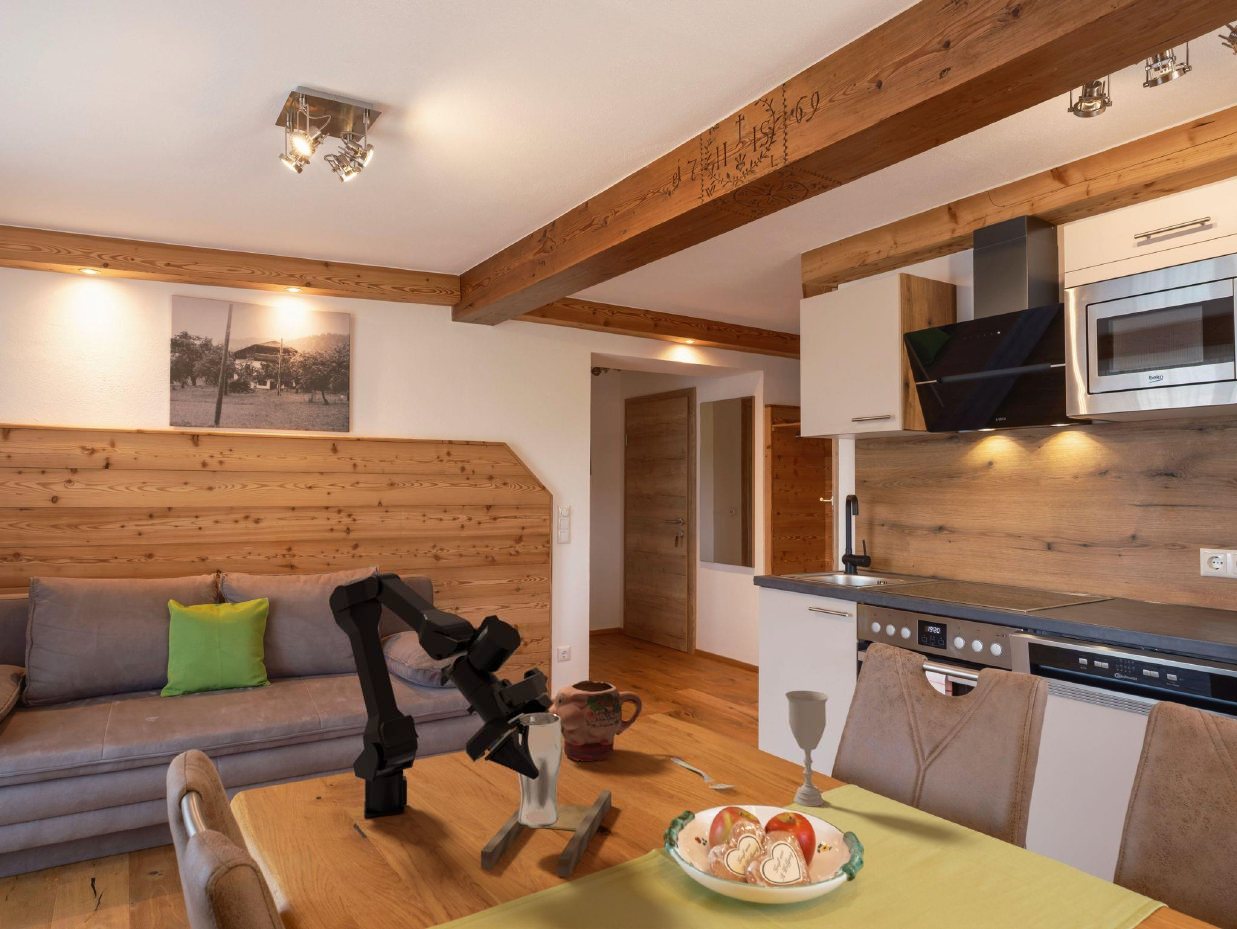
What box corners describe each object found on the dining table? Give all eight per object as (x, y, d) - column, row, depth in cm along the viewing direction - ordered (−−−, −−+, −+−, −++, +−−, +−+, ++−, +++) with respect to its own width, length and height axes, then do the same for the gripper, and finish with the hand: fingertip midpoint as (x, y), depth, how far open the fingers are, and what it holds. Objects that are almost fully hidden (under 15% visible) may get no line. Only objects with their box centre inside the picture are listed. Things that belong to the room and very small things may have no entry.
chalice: (782, 804, 136) (780, 697, 137) (793, 790, 142) (791, 688, 143) (825, 811, 133) (823, 702, 134) (834, 797, 139) (832, 693, 140)
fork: (672, 754, 164) (672, 746, 164) (738, 795, 142) (738, 785, 142) (658, 757, 162) (658, 748, 162) (723, 798, 140) (723, 788, 140)
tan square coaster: (584, 831, 126) (584, 828, 126) (527, 826, 128) (527, 823, 128) (598, 809, 135) (598, 806, 135) (544, 804, 137) (544, 802, 137)
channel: (568, 877, 111) (568, 859, 111) (481, 868, 114) (481, 851, 114) (611, 805, 136) (611, 790, 137) (538, 799, 139) (538, 785, 139)
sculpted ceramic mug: (628, 738, 173) (627, 674, 174) (653, 755, 162) (652, 686, 162) (540, 751, 165) (540, 683, 166) (559, 770, 154) (559, 697, 155)
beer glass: (565, 811, 123) (565, 712, 123) (557, 830, 116) (557, 726, 116) (520, 809, 123) (521, 711, 124) (510, 828, 116) (510, 724, 117)
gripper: (484, 667, 113) (556, 755, 109) (541, 643, 130) (604, 717, 126) (436, 718, 115) (504, 805, 111) (498, 687, 133) (559, 762, 129)
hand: (546, 769), depth 119 cm, fingers closed on beer glass, 7 cm apart
